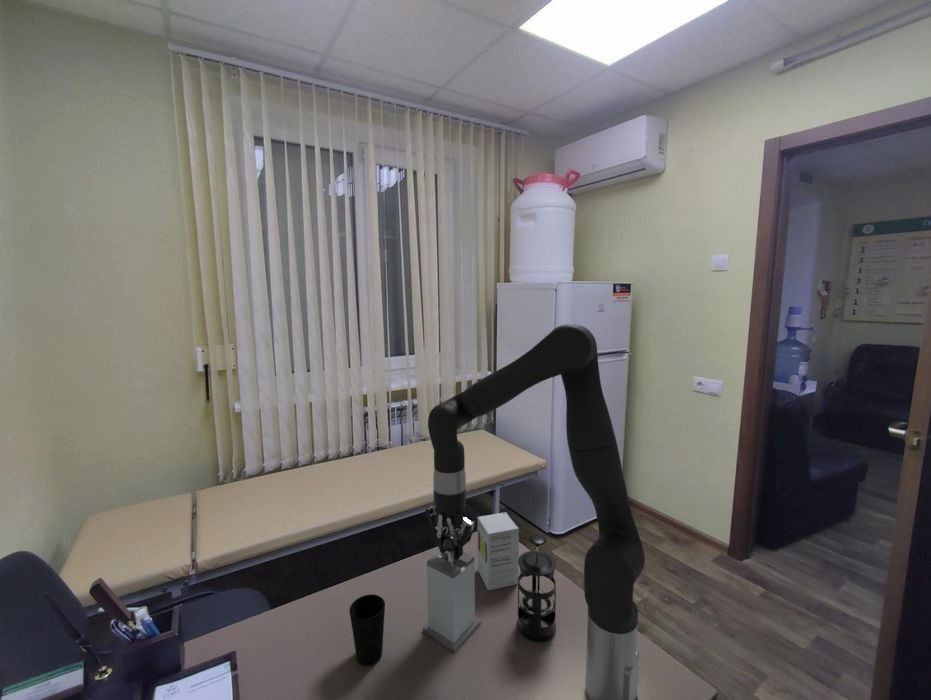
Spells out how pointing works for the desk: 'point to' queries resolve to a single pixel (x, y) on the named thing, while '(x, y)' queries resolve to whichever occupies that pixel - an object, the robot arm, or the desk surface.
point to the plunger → (449, 547)
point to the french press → (536, 593)
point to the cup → (368, 628)
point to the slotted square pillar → (451, 600)
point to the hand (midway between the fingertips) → (450, 554)
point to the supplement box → (498, 550)
